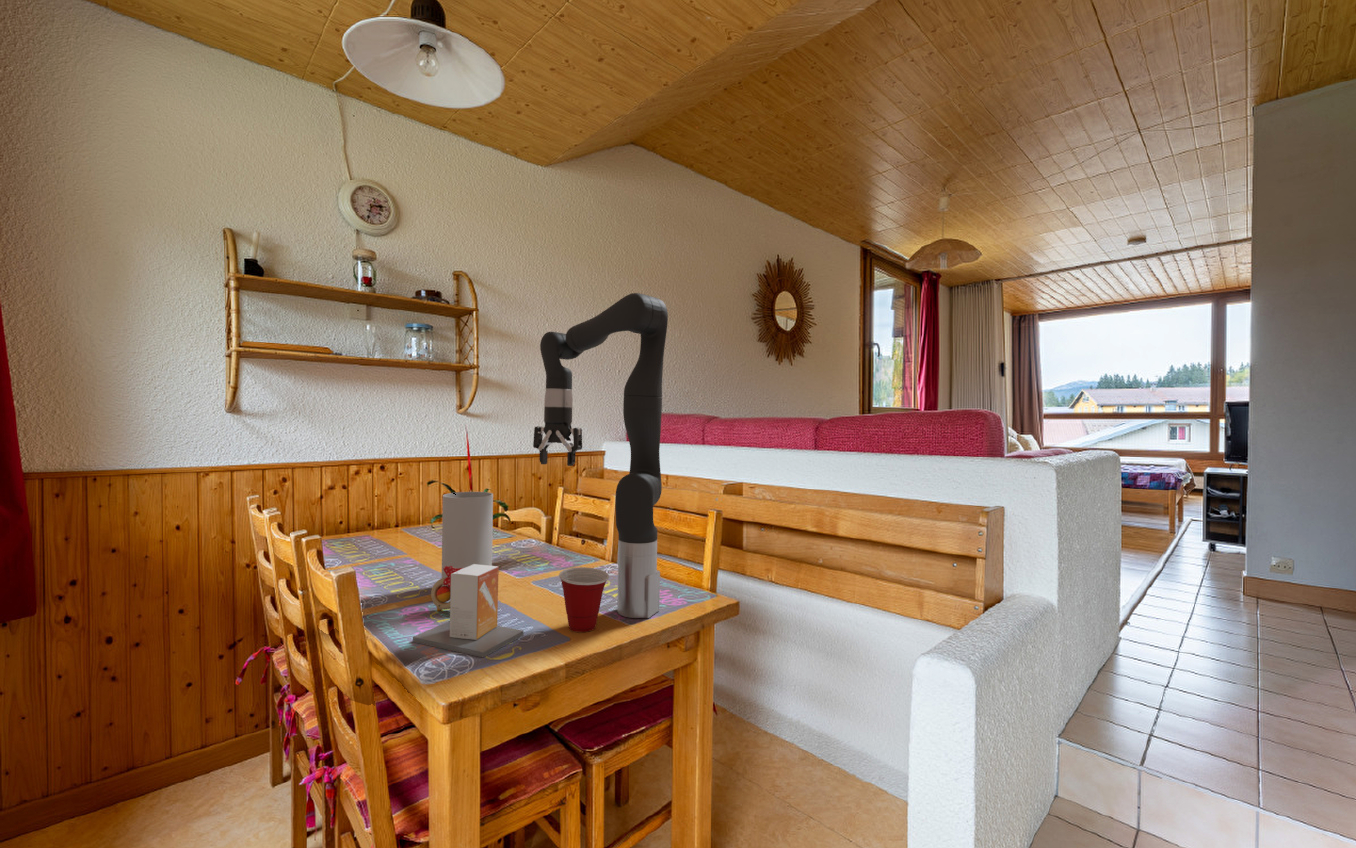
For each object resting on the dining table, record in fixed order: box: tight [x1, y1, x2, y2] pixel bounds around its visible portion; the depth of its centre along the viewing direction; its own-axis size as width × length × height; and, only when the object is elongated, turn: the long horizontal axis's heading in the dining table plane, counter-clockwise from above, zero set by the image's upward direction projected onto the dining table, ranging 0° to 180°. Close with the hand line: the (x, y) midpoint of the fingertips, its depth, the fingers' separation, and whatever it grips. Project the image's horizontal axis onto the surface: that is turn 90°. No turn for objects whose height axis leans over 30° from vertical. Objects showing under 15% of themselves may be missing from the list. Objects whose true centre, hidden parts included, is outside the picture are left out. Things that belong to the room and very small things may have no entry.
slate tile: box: [412, 620, 525, 658], centre depth 114 cm, size 18×12×1 cm, turn 68°
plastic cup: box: [558, 566, 610, 633], centre depth 121 cm, size 11×11×12 cm
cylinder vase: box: [441, 491, 494, 588], centre depth 148 cm, size 12×12×25 cm
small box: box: [449, 564, 500, 640], centre depth 115 cm, size 8×6×13 cm
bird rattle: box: [430, 566, 463, 612], centre depth 131 cm, size 6×11×9 cm
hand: (557, 465), depth 152 cm, fingers open, 8 cm apart
